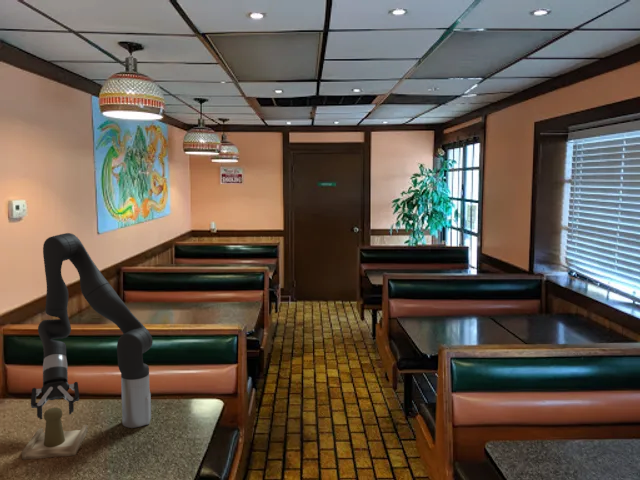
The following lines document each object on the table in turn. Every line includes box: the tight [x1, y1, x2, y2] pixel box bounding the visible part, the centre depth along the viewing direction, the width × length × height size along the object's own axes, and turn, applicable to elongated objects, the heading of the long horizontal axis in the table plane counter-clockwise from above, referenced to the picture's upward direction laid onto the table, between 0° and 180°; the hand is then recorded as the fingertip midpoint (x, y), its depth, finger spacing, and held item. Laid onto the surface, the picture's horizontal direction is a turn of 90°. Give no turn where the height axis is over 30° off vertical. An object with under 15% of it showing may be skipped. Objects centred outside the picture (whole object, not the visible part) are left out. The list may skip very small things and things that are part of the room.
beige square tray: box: [21, 424, 89, 461], centre depth 159 cm, size 15×15×2 cm
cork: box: [43, 407, 65, 447], centre depth 158 cm, size 6×6×11 cm
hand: (55, 416), depth 162 cm, fingers open, 8 cm apart
